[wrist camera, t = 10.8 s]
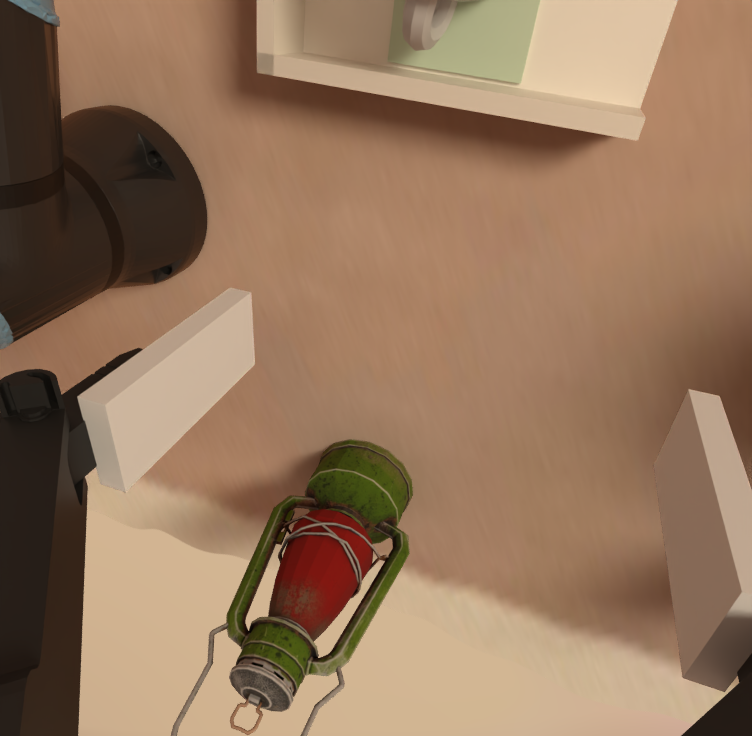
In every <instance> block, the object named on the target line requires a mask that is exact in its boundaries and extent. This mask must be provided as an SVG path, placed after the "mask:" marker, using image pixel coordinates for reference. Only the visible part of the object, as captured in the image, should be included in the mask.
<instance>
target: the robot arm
mask: <svg viewBox="0 0 752 736" xmlns="http://www.w3.org/2000/svg"><path fill="white" fill-rule="evenodd" d="M57 26H59V27H60V21H59V17H58V16H57V15H56V13H55V8H54V0H0V349H3V348H5V347H7V346H9V345H10V344H11V343H13V342H15V341H16V340H18V339H20V338H22V337H23V336H25V335H27V334H29V333H30V332H32V331H34V330H36V329H37V328H39V327H41V326H43V325H44V324H46V323H48V322H50V321H51V320H53V319H55V318H57V317H59V316H60V315H62V314H64V313H66V312H67V311H69V310H71V309H73V308H74V307H76V306H78V305H80V304H81V303H83V302H85V301H87V300H88V299H90V298H92V297H94V296H95V295H97V294H99V293H101V292H103V291H105V290H107V289H110V288H120V287H130V286H139V285H149V284H156V283H159V282H162V281H165V280H167V279H169V278H171V277H173V276H175V275H176V274H178V273H180V272H181V271H183V270H185V269H186V268H187V267H189V266H190V265H191V264H192V263H193V262H194V260H195V259H196V258H197V256H198V255H199V253H200V251H201V249H202V246H203V244H204V240H205V236H206V230H207V210H206V203H205V198H204V194H203V190H202V187H201V184H200V181H199V179H198V176H197V174H196V172H195V170H194V168H193V166H192V164H191V162H190V161H189V159H188V157H187V156H186V154H185V153H184V151H183V150H182V149H181V147H180V146H179V145H178V143H177V142H176V141H175V140H174V139H173V138H172V137H171V136H170V135H169V134H168V133H167V132H166V131H165V130H164V129H163V128H162V127H161V126H159V125H158V124H157V123H156V122H154V121H153V120H151V119H150V118H148V117H147V116H145V115H143V114H141V113H139V112H137V111H134V110H132V109H129V108H125V107H120V106H111V105H110V106H100V107H94V108H88V109H82V110H79V111H76V112H74V113H71V114H69V115H68V116H66V117H65V118H63V119H62V120H61V105H60V84H59V63H58V42H57ZM254 365H255V355H254V336H253V317H252V298H251V292H248V291H244V290H239V289H235V288H229V289H227V290H226V291H225V292H223V293H222V294H220V295H219V296H218V297H216V298H215V299H213V300H212V301H211V302H209V303H208V304H206V305H205V306H204V307H202V308H201V309H199V310H198V311H197V312H195V313H194V314H192V315H191V316H190V317H188V318H187V319H185V320H184V321H183V322H181V323H180V324H178V325H177V326H176V327H174V328H173V329H171V330H170V331H168V332H167V333H166V334H164V335H163V336H161V337H160V338H159V339H157V340H156V341H154V342H153V343H152V344H150V345H149V346H147V347H146V348H145V349H140V348H137V349H134V350H132V351H129V352H126V353H124V354H121V355H119V356H117V357H116V358H115V359H113V360H112V361H110V362H109V363H107V364H106V366H105V367H104V366H103V367H102V368H100V369H99V370H97V371H96V372H95V374H91V375H90V376H88V377H87V378H86V379H84V380H83V381H81V382H80V383H78V384H77V385H75V386H74V387H72V388H71V389H70V390H68V391H67V392H65V393H64V394H62V395H61V392H60V388H59V385H58V381H57V378H56V375H55V374H53V373H52V372H50V371H47V370H42V369H32V370H24V371H20V372H15V373H13V374H11V375H8V376H6V377H4V378H2V379H1V380H0V412H1V413H0V736H78V724H79V697H80V672H81V646H82V644H81V643H82V620H83V619H82V618H83V594H84V592H83V591H84V568H85V542H86V516H87V490H88V486H87V482H86V479H85V476H86V475H87V474H88V473H89V472H91V471H92V470H93V469H94V468H95V467H96V469H97V473H98V477H99V480H100V484H102V485H105V486H108V487H111V488H114V489H117V490H120V491H123V492H127V491H128V490H129V489H130V488H131V487H132V486H133V485H134V484H135V483H136V482H137V481H138V480H139V479H140V478H141V477H142V476H143V475H144V474H145V473H146V472H147V471H148V470H149V469H150V468H151V467H152V466H153V465H154V464H155V463H156V462H157V461H158V460H159V459H160V458H161V457H162V456H163V455H164V454H165V453H166V452H167V451H168V450H169V449H170V448H171V447H172V446H173V445H174V444H175V443H176V442H177V441H178V440H179V439H180V438H181V437H182V436H183V435H184V434H185V433H186V432H187V431H188V430H189V429H190V428H191V427H192V426H193V425H194V424H195V423H196V422H197V421H198V420H199V419H200V418H201V417H202V416H203V415H204V414H205V413H206V412H207V411H208V410H209V409H210V408H211V407H212V406H213V405H214V404H215V403H216V402H217V401H218V400H219V399H220V398H221V397H222V396H223V395H224V394H225V393H226V392H227V391H228V390H229V389H231V388H232V387H233V386H234V385H235V384H236V383H237V382H238V381H239V380H240V379H241V378H242V377H243V376H244V375H245V374H246V373H247V372H248V371H249V370H250V369H251V368H252V367H253V366H254ZM653 466H654V473H655V481H656V488H657V495H658V502H659V510H660V517H661V524H662V531H663V539H664V546H665V553H666V560H667V568H668V575H669V582H670V589H671V597H672V604H673V611H674V619H675V626H676V633H677V640H678V648H679V655H680V662H681V669H682V677H683V678H684V679H687V680H690V681H693V682H696V683H699V684H702V685H705V686H708V687H711V688H714V689H717V690H720V691H723V692H725V691H726V690H727V688H728V687H729V686H730V685H731V683H732V682H733V681H734V679H735V678H736V677H737V676H738V679H739V684H738V685H737V686H736V687H734V688H733V689H732V690H731V691H730V692H729V693H728V694H727V695H726V696H725V697H723V698H722V699H721V700H720V701H719V702H718V703H717V704H716V705H715V706H713V707H712V708H711V709H710V710H709V711H708V712H707V713H706V714H705V715H704V716H702V717H701V718H700V719H699V720H698V721H697V722H696V723H695V724H694V725H693V726H691V727H690V728H689V729H688V730H687V731H686V732H685V733H684V734H683V735H682V736H752V489H751V486H750V483H749V480H748V477H747V474H746V472H745V469H744V466H743V463H742V460H741V457H740V454H739V451H738V448H737V445H736V442H735V440H734V437H733V434H732V431H731V428H730V425H729V422H728V419H727V416H726V413H725V410H724V408H723V405H722V402H721V399H720V396H718V395H713V394H708V393H704V392H699V391H695V390H690V389H688V391H687V393H686V396H685V398H684V400H683V402H682V404H681V406H680V409H679V411H678V413H677V415H676V417H675V420H674V422H673V424H672V426H671V428H670V430H669V433H668V435H667V437H666V439H665V441H664V444H663V446H662V448H661V450H660V452H659V454H658V457H657V459H656V461H655V463H654V465H653Z"/></svg>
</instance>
